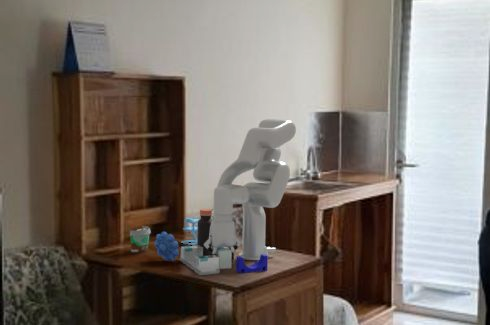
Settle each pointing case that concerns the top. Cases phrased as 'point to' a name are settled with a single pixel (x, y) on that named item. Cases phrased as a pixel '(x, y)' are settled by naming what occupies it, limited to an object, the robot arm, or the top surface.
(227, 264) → the block
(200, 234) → the bottle
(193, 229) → the chair
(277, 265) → the top surface
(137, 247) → the food container
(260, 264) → the blue mounting bracket
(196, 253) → the rail
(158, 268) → the top surface
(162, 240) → the grapes
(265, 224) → the robot arm
